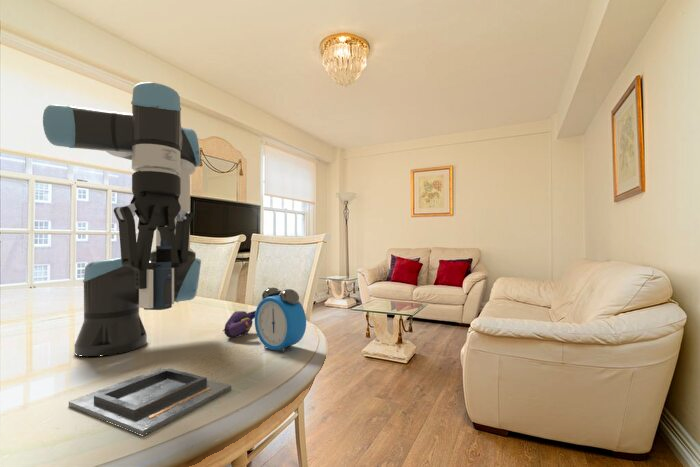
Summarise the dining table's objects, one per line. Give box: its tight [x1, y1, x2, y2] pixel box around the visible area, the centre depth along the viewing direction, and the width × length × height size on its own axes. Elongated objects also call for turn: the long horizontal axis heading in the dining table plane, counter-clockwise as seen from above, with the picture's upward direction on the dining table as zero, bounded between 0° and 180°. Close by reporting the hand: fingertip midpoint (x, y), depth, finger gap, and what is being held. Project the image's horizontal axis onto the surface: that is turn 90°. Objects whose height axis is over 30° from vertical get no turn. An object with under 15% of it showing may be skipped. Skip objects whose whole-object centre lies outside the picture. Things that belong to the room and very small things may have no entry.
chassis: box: [68, 367, 232, 436], centre depth 58 cm, size 20×16×2 cm
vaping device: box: [143, 241, 173, 311], centre depth 59 cm, size 3×5×12 cm, turn 77°
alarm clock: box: [254, 286, 307, 353], centre depth 84 cm, size 13×6×15 cm, turn 55°
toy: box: [222, 310, 256, 339], centre depth 95 cm, size 11×12×7 cm
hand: (156, 305), depth 59 cm, fingers closed on vaping device, 3 cm apart
